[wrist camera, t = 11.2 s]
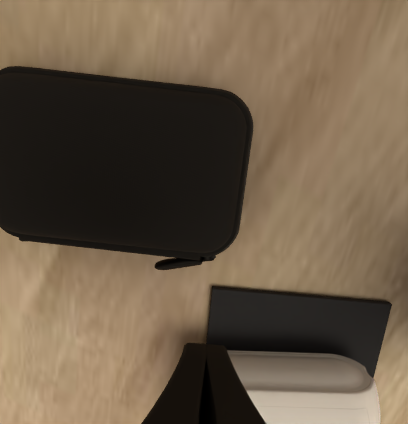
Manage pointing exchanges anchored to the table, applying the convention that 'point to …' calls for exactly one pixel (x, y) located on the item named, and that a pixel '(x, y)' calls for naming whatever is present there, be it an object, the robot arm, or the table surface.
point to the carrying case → (122, 164)
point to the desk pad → (298, 324)
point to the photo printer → (307, 387)
